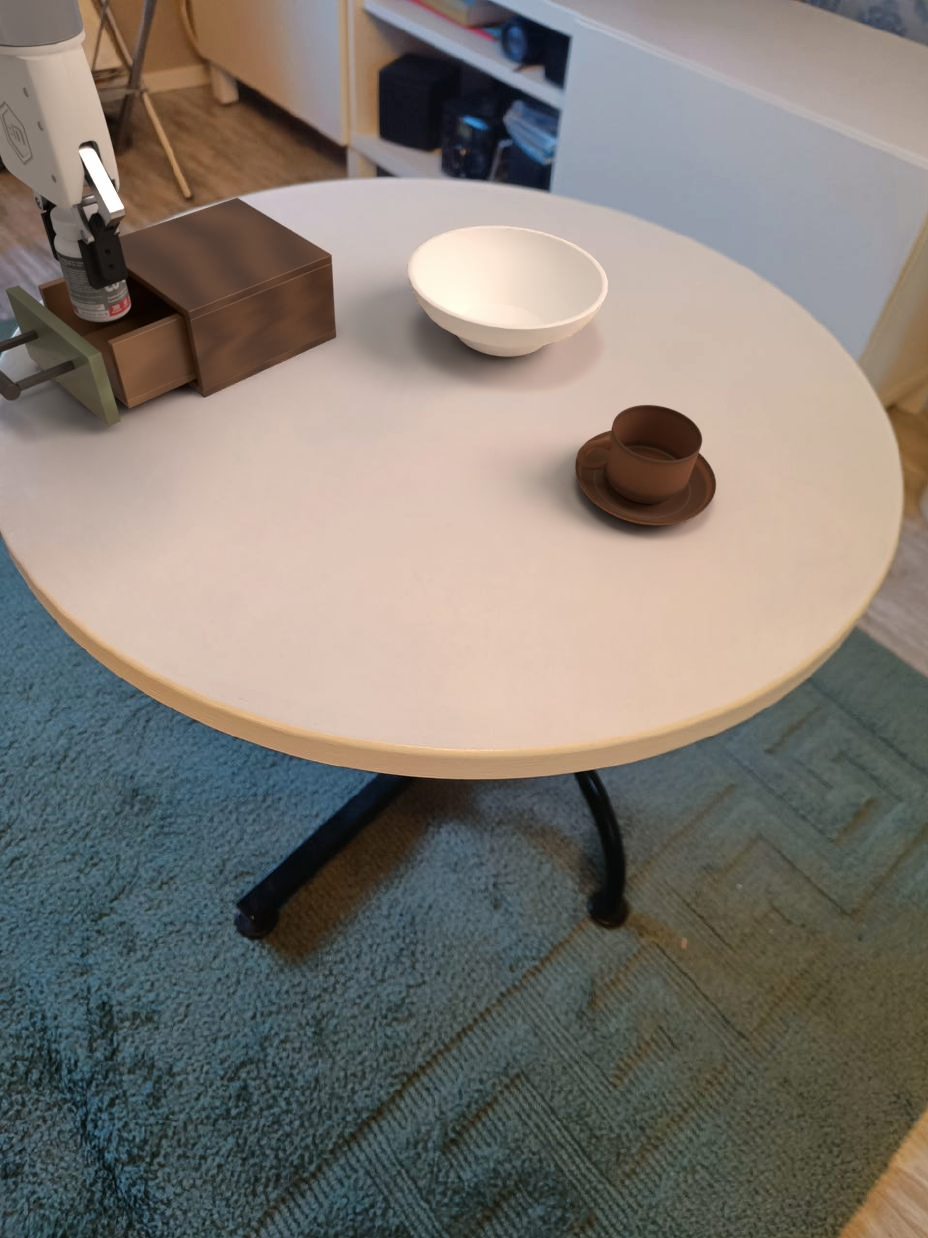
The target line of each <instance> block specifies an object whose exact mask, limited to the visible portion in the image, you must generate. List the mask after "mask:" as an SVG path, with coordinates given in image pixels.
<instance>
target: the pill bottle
mask: <svg viewBox="0 0 928 1238" xmlns="http://www.w3.org/2000/svg"><path fill="white" fill-rule="evenodd" d="M83 209H84V211H85V214H86V217H87V219H88V222H89V219H90V217H91V215H92V214H93V213H96V212H97V210H98V203H95V204H92V205H89V206H85V207H83ZM50 217H51V221H52V224H53V229H54V231H55V232H56V234H57V235H56V236H55V239H54V245H55V250H56V253H57V256H58V259H59V262H58V264H59V266H60V269H61V272H62V277H64V279H65V283H66V286H67V289H68V293H69V296H70V299H71V303H72V306H73V309H74V312H75V313H76V314H77V315H78V316H79V317H80V318H82V319H85V320H88V321H93V322H108V321H113V320H116V319H118V318H120V317H122V316H124V315H125V314H126V313H127V312H128V311H129V310H130V307H131V301H130V297H129V293H128V289H127V285H126V281H125V280H123V281H120V282H118V283H115V284H112V285H109V286H107V287H104V288H101V289H98V290H95V289H94V288H92V287H91V286H90V284H89V281H88V278H87V274H86V270H85V267H84V263H83V260H82V256H81V253H80V249H79V246H78V242H77V240H80V239H82V237H81V235H80V232H79V230H78V227H77V225H76V222H75V219H74V217H73V214H72V212H71V209H63V208H61V207H59V206H56V207H55V208H53V209H52V211H51V213H50Z"/></svg>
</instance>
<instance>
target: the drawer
mask: <svg viewBox="0 0 928 1238" xmlns="http://www.w3.org/2000/svg"><path fill="white" fill-rule="evenodd" d="M125 281H126V285H127V289H128V293H129V297H130V301H131V307H130V310H129V311H128V312H127V313H126V314H125V315H124V316H122V317H120V318H118V319H116V320H113V321H108V322H93V321H88V320H85V319H82V318H80V317H79V316H78V315H77V314H76V313H75V312H74V309H73V306H72V303H71V299H70V296H69V293H68V289H67V286H66V283H65V279H64V276H61V277H58V278H55V279H53V280H49V281H47V282H44V283H41V284H38V285H37V288H38V292H39V294H40V297H41V300H42V303H43V304H42V303H41V302H40V301H38V299H36V297H35V298H34V296H32V294H30V293H29V292H27V291H26V290H25V289H24V288H22V287H21V286H20V285H19V284H17V285H14V286H11V287H9V288H8V287H7V288H6V289H5V292H6V295H7V299H8V301H9V303H10V306H11V309H12V312H13V315H14V318H15V319H16V324H17V325H18V328H19V331H20V333H21V334H18V335H15V336H13V337H9V338H6V339H4V340H1V341H0V354H1V353H3V352H6V351H9V350H11V349H15V348H17V347H20V346H22V345H25V348H26V350H27V353H28V356H29V358H30V359H31V360H32V361H33V362H34V363H35V364H36V365H38V366H39V367H40V368H42V371H38V372H37V373H34V374H31V375H29V376H27V377H24V378H22V379H19V380H16V381H13V380H12V379H11V378H10V377H9V376H8V375H6V374H5V372H3V371H2V370H1V369H0V395H1V396H2V397H3V398H4V399H5V400H7V401H12V402H13V401H16V400H17V399H19V397H20V396H21V394H22V393H21V392H23V391H25V390H27V389H30V388H32V387H35V386H37V385H40V384H42V383H44V382H47V381H49V380H55V381H56V382H57V383H58V384H59V385H60V386H61V387H62V388H64V389H65V390H66V391H67V392H68V393H69V394H71V395H72V396H73V397H74V398H75V399H76V400H78V402H80V403H81V404H82V405H83V406H84V407H86V408H87V409H88V411H90V412H91V413H92V414H94V415H95V417H97V418H98V419H99V420H101V422H103V423H104V424H105V425H106V426H107V427H111V426H113V425H116V424H118V423H120V422H121V420H122V419H121V417H120V413H119V409H118V406H117V402H116V400H115V398H116V399H118V400H119V401H120V403H122V404H123V405H125V406H126V407H127V408H128V409H131V408H134V407H136V406H139V405H140V404H143V403H145V402H148V401H149V400H152V399H154V398H157V397H158V396H161V395H163V394H166V393H167V392H170V391H172V390H174V389H176V388H179V387H181V386H183V385H185V384H187V383H188V382H190V381H192V380H194V379H197V375H196V370H195V365H194V360H193V355H192V350H191V344H190V339H189V334H188V329H187V324H186V319H185V317H186V316H184V315H183V314H181V313H180V312H179V311H177V310H176V309H175V308H173V307H172V306H170V305H169V304H168V303H166V302H165V301H164V300H162V299H161V298H159V297H158V296H157V295H155V294H154V293H153V292H151V291H150V290H148V289H147V288H146V287H144V286H143V285H142V284H140V283H139V282H138V281H136V280H135V279H133V278H132V277H131V276H129V275H128V277H127V279H126V280H125Z"/></svg>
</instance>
